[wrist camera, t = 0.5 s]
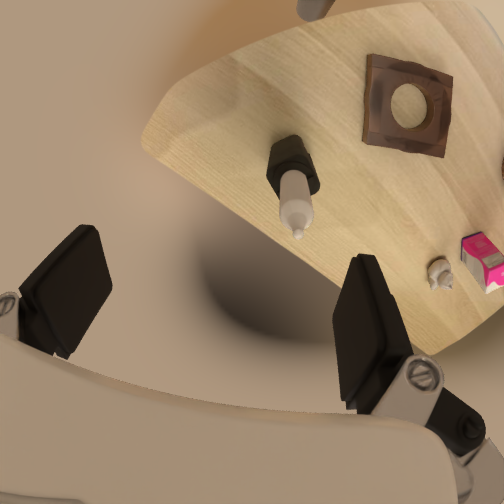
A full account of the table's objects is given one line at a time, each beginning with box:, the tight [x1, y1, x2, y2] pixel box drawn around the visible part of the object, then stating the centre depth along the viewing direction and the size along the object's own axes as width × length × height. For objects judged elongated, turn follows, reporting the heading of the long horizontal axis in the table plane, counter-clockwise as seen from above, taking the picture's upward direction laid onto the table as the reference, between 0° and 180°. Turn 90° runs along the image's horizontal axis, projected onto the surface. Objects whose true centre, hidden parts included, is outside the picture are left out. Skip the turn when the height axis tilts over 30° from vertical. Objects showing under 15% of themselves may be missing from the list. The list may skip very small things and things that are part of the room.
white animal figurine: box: [428, 259, 453, 290], centre depth 46 cm, size 5×7×8 cm
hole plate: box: [362, 54, 453, 158], centre depth 33 cm, size 14×14×2 cm
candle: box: [266, 135, 320, 239], centre depth 31 cm, size 5×5×25 cm
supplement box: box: [461, 232, 504, 294], centre depth 41 cm, size 6×6×12 cm
